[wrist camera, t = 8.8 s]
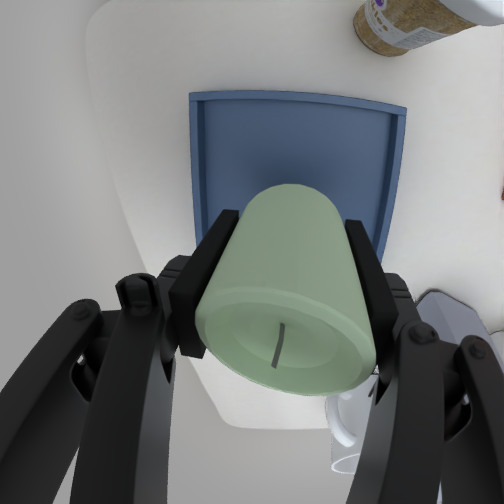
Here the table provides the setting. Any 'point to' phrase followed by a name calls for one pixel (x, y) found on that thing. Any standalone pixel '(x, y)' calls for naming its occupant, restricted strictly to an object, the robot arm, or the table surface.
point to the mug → (348, 425)
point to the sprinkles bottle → (420, 21)
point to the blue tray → (295, 153)
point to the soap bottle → (453, 325)
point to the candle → (289, 298)
